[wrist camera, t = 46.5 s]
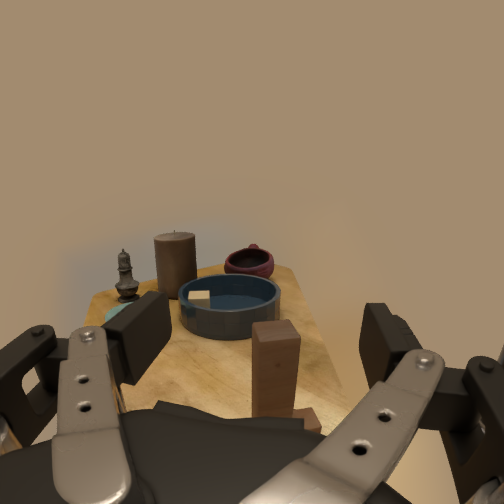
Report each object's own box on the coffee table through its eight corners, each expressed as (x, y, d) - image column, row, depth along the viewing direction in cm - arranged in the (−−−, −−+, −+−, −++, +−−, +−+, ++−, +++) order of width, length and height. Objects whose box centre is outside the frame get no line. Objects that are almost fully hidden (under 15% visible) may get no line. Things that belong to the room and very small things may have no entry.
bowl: (282, 287, 74) (283, 256, 72) (232, 294, 69) (232, 261, 67) (258, 269, 88) (258, 242, 86) (215, 273, 84) (214, 246, 82)
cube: (210, 308, 60) (209, 290, 59) (210, 317, 56) (209, 298, 55) (190, 309, 59) (189, 291, 58) (189, 318, 55) (187, 298, 54)
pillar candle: (204, 294, 69) (202, 230, 65) (165, 302, 64) (159, 235, 60) (189, 282, 77) (186, 225, 73) (153, 288, 72) (148, 229, 68)
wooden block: (257, 459, 25) (259, 341, 21) (251, 437, 28) (251, 321, 24) (317, 447, 26) (340, 331, 22) (308, 428, 29) (325, 314, 25)
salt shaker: (123, 305, 61) (116, 253, 58) (113, 298, 65) (106, 249, 62) (145, 298, 65) (140, 248, 62) (133, 292, 69) (128, 244, 66)
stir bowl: (282, 299, 67) (282, 275, 65) (275, 344, 48) (276, 315, 46) (198, 293, 69) (196, 271, 68) (165, 333, 51) (161, 305, 49)
